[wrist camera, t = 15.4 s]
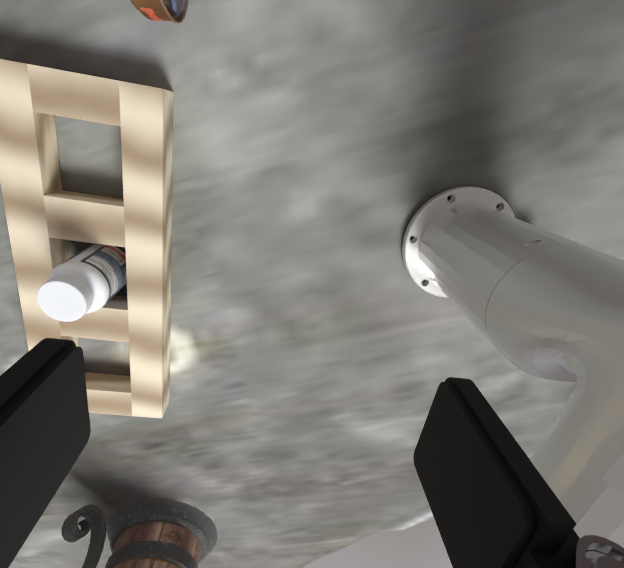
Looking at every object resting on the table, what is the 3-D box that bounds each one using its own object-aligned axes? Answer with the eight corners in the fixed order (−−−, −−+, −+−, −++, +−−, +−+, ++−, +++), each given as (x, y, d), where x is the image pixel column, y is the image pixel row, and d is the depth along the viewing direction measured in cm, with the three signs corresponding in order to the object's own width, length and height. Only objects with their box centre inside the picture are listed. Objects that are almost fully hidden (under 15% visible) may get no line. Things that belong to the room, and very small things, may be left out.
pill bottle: (89, 288, 40) (38, 330, 32) (75, 243, 38) (17, 275, 30) (137, 286, 40) (99, 327, 32) (127, 241, 38) (83, 272, 30)
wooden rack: (6, 61, 31) (-21, 55, 28) (173, 91, 33) (162, 88, 30) (53, 391, 45) (38, 408, 42) (169, 401, 47) (162, 418, 44)
